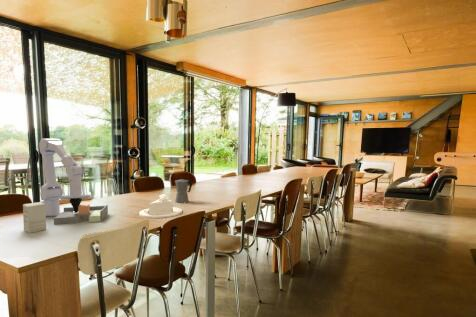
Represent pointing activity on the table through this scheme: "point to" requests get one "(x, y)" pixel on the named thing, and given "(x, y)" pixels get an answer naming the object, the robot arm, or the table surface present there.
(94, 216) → the board
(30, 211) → the supplement box
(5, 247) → the table surface
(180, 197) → the coffeepot
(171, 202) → the dish
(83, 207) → the block
